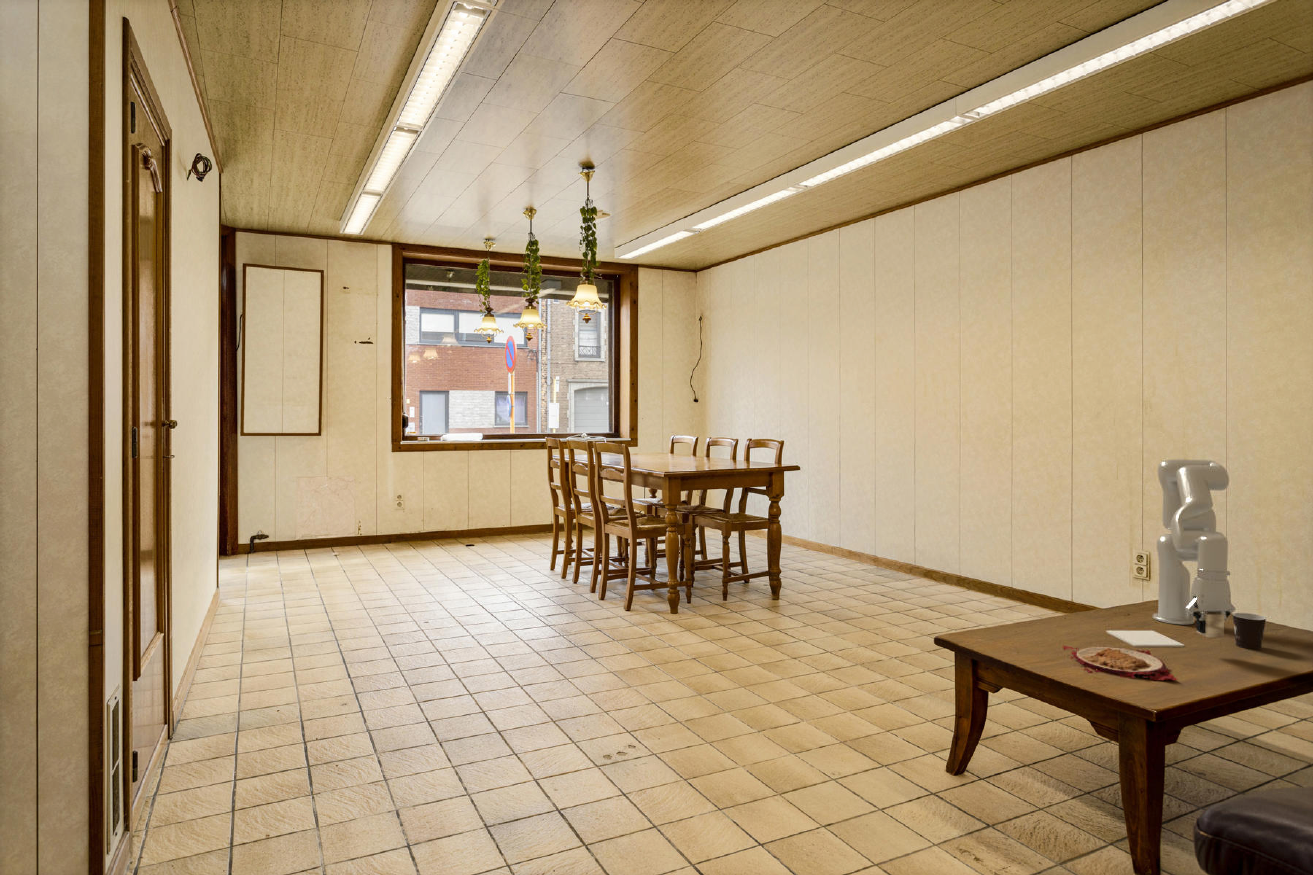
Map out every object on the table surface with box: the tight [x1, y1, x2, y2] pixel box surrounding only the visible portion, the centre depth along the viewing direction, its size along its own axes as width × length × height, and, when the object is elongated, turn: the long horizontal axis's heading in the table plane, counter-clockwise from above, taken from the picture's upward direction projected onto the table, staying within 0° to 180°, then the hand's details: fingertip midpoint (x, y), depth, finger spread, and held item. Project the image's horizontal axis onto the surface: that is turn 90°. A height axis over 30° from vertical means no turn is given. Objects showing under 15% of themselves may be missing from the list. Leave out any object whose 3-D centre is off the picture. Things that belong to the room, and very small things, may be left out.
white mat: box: [1106, 630, 1185, 648], centre depth 258 cm, size 16×16×1 cm
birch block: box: [1195, 612, 1225, 638], centre depth 241 cm, size 5×5×7 cm
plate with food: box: [1062, 645, 1178, 681], centre depth 233 cm, size 25×26×4 cm
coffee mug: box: [1232, 612, 1267, 651], centre depth 250 cm, size 12×9×10 cm
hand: (1210, 631), depth 241 cm, fingers closed on birch block, 5 cm apart
